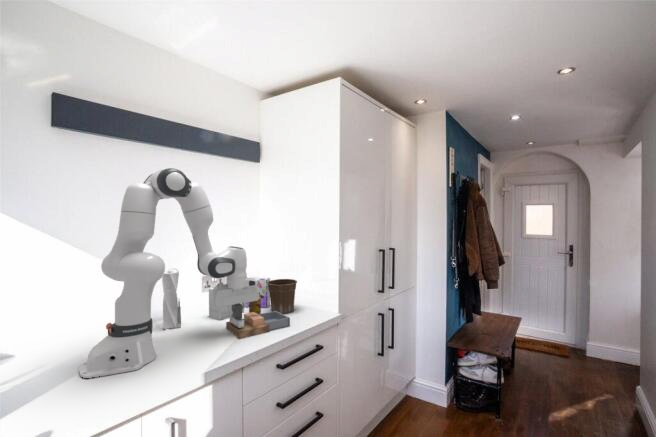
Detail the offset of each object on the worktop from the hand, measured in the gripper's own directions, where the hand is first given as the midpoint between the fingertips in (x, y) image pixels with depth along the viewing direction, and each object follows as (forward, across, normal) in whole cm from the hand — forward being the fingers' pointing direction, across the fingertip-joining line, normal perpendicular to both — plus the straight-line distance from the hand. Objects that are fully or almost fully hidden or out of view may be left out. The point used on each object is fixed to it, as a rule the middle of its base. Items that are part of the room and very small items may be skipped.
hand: (236, 313), depth 143 cm
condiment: (+9, +16, +19) cm, 26 cm away
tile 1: (+5, +8, +3) cm, 10 cm away
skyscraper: (+9, -22, +25) cm, 34 cm away
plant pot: (+9, +32, +17) cm, 37 cm away
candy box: (+9, +25, +34) cm, 43 cm away
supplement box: (+9, +2, +27) cm, 28 cm away
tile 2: (+5, +8, -3) cm, 10 cm away
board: (+8, +5, 0) cm, 10 cm away
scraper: (+5, 0, 0) cm, 5 cm away
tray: (+8, +17, 0) cm, 19 cm away
